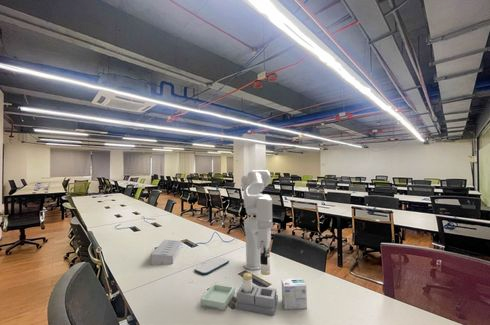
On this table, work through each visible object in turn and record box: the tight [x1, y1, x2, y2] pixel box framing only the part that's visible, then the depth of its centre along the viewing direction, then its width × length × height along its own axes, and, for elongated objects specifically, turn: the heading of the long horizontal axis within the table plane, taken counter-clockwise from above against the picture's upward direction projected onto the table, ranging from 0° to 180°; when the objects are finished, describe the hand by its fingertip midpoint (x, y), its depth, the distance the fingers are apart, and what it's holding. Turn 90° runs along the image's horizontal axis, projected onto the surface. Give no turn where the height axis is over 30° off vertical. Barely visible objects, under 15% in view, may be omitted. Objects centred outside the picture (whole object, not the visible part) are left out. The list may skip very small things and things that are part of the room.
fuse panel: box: [234, 283, 279, 316], centre depth 102 cm, size 12×18×6 cm, turn 73°
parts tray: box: [200, 283, 236, 312], centre depth 106 cm, size 14×12×4 cm
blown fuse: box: [260, 247, 271, 276], centre depth 102 cm, size 4×4×11 cm
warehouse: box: [150, 239, 183, 266], centre depth 162 cm, size 30×14×8 cm, turn 4°
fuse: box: [242, 272, 253, 294], centre depth 104 cm, size 4×4×11 cm
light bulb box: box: [280, 277, 308, 310], centre depth 101 cm, size 11×7×11 cm, turn 92°
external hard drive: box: [194, 256, 229, 276], centre depth 142 cm, size 24×12×2 cm, turn 143°
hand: (265, 261), depth 102 cm, fingers closed on blown fuse, 4 cm apart
